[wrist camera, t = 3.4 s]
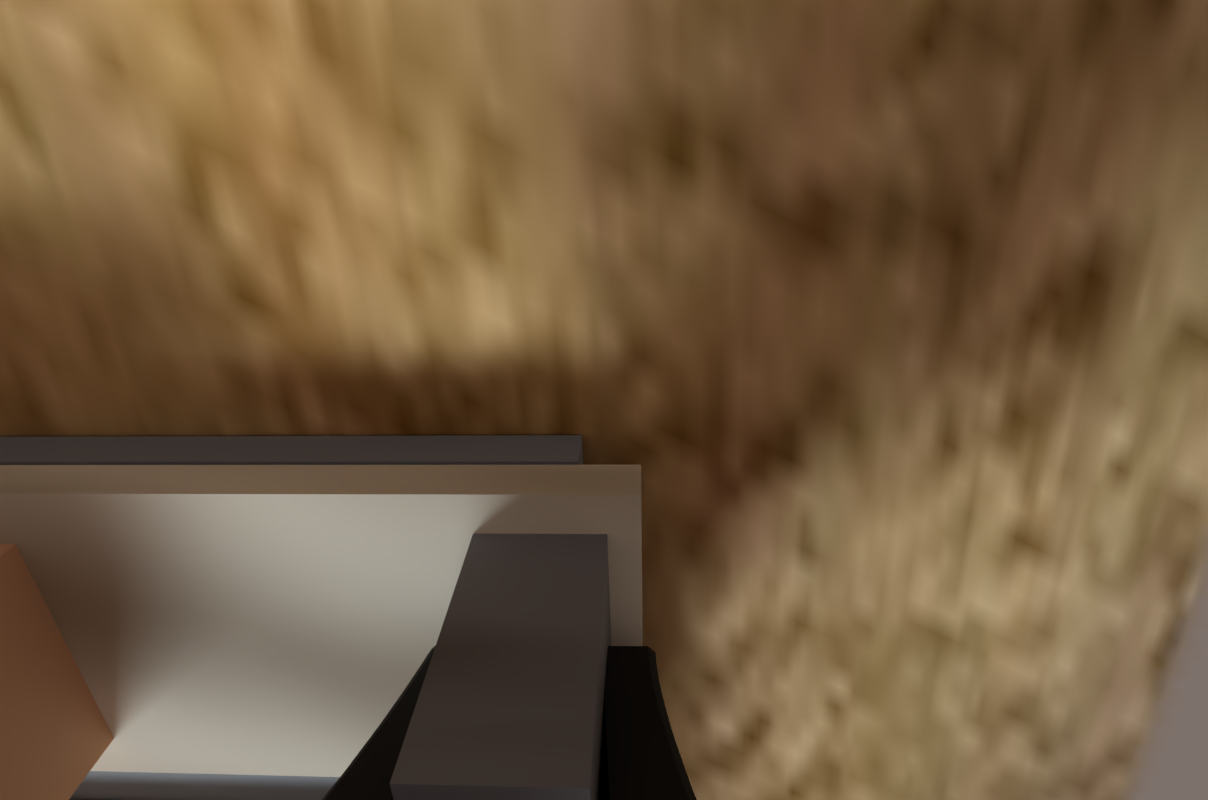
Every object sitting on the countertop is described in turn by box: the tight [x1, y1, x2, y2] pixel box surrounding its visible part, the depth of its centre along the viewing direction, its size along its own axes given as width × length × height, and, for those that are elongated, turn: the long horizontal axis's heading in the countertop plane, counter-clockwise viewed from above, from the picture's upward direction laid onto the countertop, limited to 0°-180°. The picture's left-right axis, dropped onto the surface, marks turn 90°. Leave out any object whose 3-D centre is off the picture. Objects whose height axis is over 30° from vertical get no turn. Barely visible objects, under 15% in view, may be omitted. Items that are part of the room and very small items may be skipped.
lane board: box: [0, 435, 584, 800], centre depth 15 cm, size 15×17×1 cm
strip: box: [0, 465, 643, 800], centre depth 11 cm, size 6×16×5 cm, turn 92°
